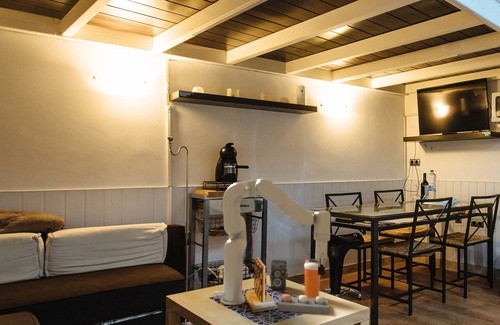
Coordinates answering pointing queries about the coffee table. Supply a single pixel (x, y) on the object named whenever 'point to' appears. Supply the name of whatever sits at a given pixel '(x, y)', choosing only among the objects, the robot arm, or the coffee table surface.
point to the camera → (278, 274)
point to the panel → (303, 306)
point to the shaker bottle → (311, 278)
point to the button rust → (286, 298)
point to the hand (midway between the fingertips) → (321, 274)
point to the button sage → (320, 300)
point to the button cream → (303, 299)
